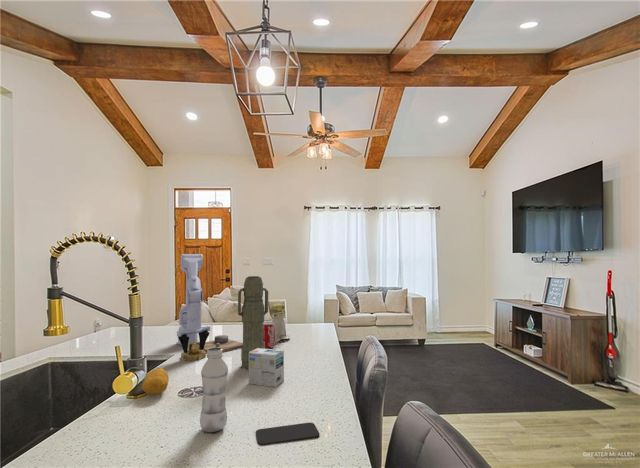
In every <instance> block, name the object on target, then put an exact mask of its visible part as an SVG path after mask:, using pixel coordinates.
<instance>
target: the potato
mask: <svg viewBox="0 0 640 468" xmlns="http://www.w3.org/2000/svg"><path fill="white" fill-rule="evenodd" d="M145 376H146V378H145V377H144V378H145V379H144V378H143V380H142V382H141V389H142V391H143V392H145V393H146V394H147V395H151V396H156V395H161V393H163V392H165V391H166V390H167V387H168V385H169V381H170V380H169V375H168V373H167V371H166V370H164V368H161V367H158V368H154V369H152V370H150V371H148V372H147V373H146V375H145Z"/></svg>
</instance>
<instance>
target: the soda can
mask: <svg viewBox="0 0 640 468" xmlns="http://www.w3.org/2000/svg"><path fill="white" fill-rule="evenodd" d="M275 345H276V343H275V326H274V323H273V322H272V321H264V322H263V347H264V349H273V350H274V349H275Z"/></svg>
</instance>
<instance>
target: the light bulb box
mask: <svg viewBox="0 0 640 468" xmlns="http://www.w3.org/2000/svg"><path fill="white" fill-rule="evenodd" d="M284 352H285V351H284V350H283V349H274V348H273V349H261V348H257V349H255V350H253V351H250V352H249V369H248V383H247V384H250V385H257V386H264V387H271V388H273V387H274V388H277V387H279V385H281V384H282V383H283V382H284V381H285V353H284Z"/></svg>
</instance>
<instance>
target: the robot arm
mask: <svg viewBox="0 0 640 468" xmlns="http://www.w3.org/2000/svg"><path fill="white" fill-rule="evenodd" d="M203 263H204V256H203V254H202V253H182V254H181V255H180V270H181V271H183V272H184V273H185V304H184V306H182V307H181V308H180V309H179V315H178V324H179V325H180V326H179V328H178V329H177V331H176V337H177V342H176V344H178V345H180V346H181V347H182V350H183V351H182V352H184V353H187V352H188V343H190V342H199V347H200V349H204V346H205V342H207V340H208V337H209V336H210V331H211V326H209V325H207V326H206V325H205V326H202V306H203V305H202V304H203V301H204V292H203V288H202V287H201V286H202V285H201V278H199V277H198V274H199V273H198V272H199V271H201V270H202V268H203ZM198 338H199V341H198Z"/></svg>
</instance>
